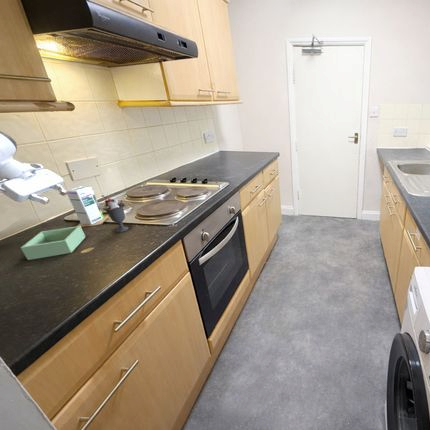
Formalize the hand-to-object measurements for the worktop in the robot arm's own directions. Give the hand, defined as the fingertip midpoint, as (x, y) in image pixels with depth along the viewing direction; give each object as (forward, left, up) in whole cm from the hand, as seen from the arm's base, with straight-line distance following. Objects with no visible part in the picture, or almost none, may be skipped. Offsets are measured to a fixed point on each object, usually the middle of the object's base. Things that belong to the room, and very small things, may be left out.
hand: (57, 198), depth 104 cm
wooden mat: (+9, -2, -11) cm, 14 cm away
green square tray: (+6, -22, -11) cm, 26 cm away
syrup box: (+9, -2, -11) cm, 14 cm away
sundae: (+23, -15, -12) cm, 30 cm away
